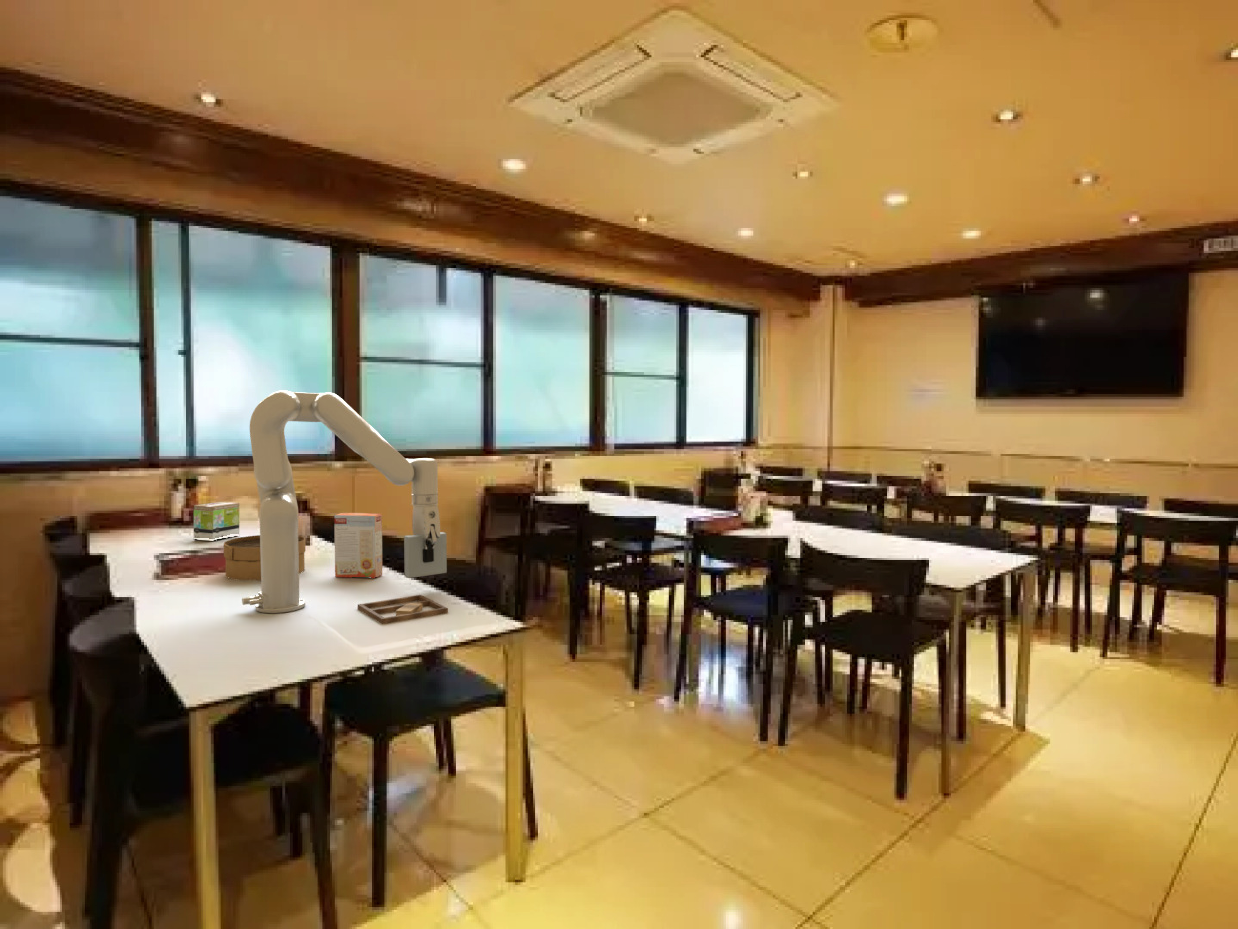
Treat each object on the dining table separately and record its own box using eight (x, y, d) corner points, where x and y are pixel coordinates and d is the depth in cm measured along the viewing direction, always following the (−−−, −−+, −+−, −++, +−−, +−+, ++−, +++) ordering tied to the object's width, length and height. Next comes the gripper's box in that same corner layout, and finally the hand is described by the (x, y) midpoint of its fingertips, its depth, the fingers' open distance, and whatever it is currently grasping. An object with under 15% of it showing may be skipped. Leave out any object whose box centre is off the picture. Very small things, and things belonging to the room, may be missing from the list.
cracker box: (383, 575, 246) (382, 513, 244) (375, 579, 240) (374, 515, 238) (343, 573, 247) (342, 511, 245) (334, 577, 241) (333, 514, 239)
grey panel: (408, 578, 215) (408, 537, 214) (404, 576, 217) (404, 536, 216) (446, 572, 222) (446, 533, 221) (442, 570, 224) (441, 532, 223)
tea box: (213, 542, 300) (212, 506, 299) (193, 540, 302) (192, 505, 301) (240, 536, 315) (239, 502, 314) (220, 535, 317) (220, 501, 316)
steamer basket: (225, 583, 230) (225, 548, 229) (222, 569, 251) (221, 537, 251) (310, 576, 243) (310, 542, 242) (300, 563, 264) (300, 532, 263)
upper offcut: (410, 618, 191) (410, 611, 191) (395, 617, 192) (395, 610, 192) (422, 610, 199) (422, 603, 199) (408, 609, 200) (408, 603, 200)
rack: (382, 628, 186) (382, 619, 185) (357, 613, 199) (357, 604, 199) (447, 617, 197) (447, 608, 197) (420, 603, 210) (420, 594, 210)
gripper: (448, 501, 214) (449, 564, 215) (425, 496, 226) (425, 555, 228) (424, 503, 209) (425, 567, 210) (401, 498, 222) (402, 558, 223)
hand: (425, 560), depth 219 cm, fingers closed on grey panel, 3 cm apart
